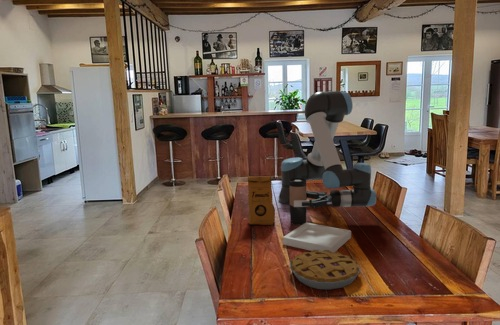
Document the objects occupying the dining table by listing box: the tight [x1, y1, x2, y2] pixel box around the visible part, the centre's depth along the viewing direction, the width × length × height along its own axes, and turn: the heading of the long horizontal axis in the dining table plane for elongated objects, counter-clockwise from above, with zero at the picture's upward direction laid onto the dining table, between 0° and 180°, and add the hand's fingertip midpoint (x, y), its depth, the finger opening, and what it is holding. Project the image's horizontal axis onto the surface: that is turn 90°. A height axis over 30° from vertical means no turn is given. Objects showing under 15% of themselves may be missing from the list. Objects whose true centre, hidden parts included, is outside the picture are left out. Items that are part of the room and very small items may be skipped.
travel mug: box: [289, 178, 308, 226], centre depth 169 cm, size 8×8×20 cm
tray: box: [282, 221, 352, 252], centre depth 148 cm, size 20×20×3 cm
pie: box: [289, 250, 361, 290], centre depth 120 cm, size 22×22×5 cm
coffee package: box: [247, 176, 276, 226], centre depth 170 cm, size 10×12×22 cm
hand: (292, 199), depth 169 cm, fingers open, 13 cm apart
